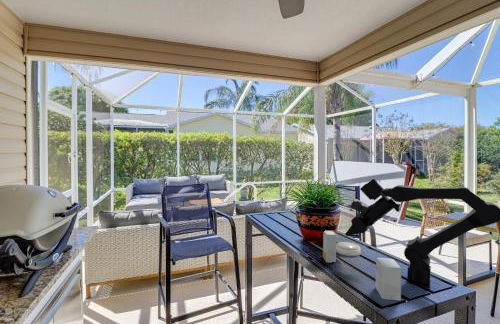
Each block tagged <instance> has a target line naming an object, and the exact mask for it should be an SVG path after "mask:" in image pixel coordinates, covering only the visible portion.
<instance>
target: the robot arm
mask: <svg viewBox="0 0 500 324" xmlns="http://www.w3.org/2000/svg"><path fill="white" fill-rule="evenodd" d="M359 190H360V191H361V192H362V193H363V194H364V195H365V196H366V197H367V198H368V199H369V200H370V201H371V200H372V201H375V202H374V203H371V204H370V205H368V204H366V203H365V202H363V201H362V200H360V199H357V198H355V199H353V201H352V202H351V204H350V206H349V207H350V208H351V209H354V210H356V211H358V212H359V215H356V216H354V217H353V218H352V219H351V221H350V222H351V226H350V227H349V228H348V230H347V231H346V232H345V236H346V237H349V236H354V235H359V234H364V233H366V232H367V231H369V228H370V227H372V226H373V225H375V224H376V222H378V221H379V220H381V219H383V217H384V216H386V215H387V214H389V213H390V212H391V211H392V210H395V211H396V212H397V213H398V212H401V203H402V202H403V203H405V202H410V201H415V200H461V201H463V202H464V203H466V204H467V205H468V206H469V208H471V210H470V211H469V212H468V213H467V214H466V215H465V216H463V217H462V218H461V219H458V220H457V221H455V222H453V223H452V224H450V225H447V226H446V227H444V228H442V229H440V230H438V231H437V232H435V233H434V234H433V233H432V234H431V235H430V236H428V237H425V238H420V236H418V235H417V236H416V237H414V238H413V239H412V240H408V242H407V244H406V246H405V249H404V252H403V255H404V257H405V259H406V260H407V261H409V265H408V266H407V273H406V275H407V277H406V279H407V280H408V281H407V283H409V284H413V285H415V286H420V287H424V288H428V289H430V288H431V283H432V281H431V268H432V266H431V257H430V256H429V255H430V254H431V253H432V252H433V251H434V250H435V249H437V248H439V247H441V246H444V244H445V245H446V244H447V243H448V242H450V241H453V240H454V239H456V238H458V237H461V236H462V235H464V234H466V233H468V232H470V231H472V230H473V229H478V228H482V227H487V226H489V225H493V224H496V223H498V222H500V207H499V206H498V205H497V204H495V203H493V202H491V201H485V200H484V199H483V198H481V197H480V196H478V195H476V194H475V193H474V192H472V191H471V190H470V188H468V187H466V186H459V187H416V186H415V187H414V186H409V185H403V184H398V185H396V186H394V187H391V188H389V187H387V188H384V187H382V185H381V184H380V183H379V182H378V181H377V180H376V178H372V179H371V180H369V181H368V182H367V183H365V184H363V186H361V187H360V188H359ZM379 197H380V198H379ZM378 198H379V199H378Z"/></svg>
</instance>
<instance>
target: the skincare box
mask: <svg viewBox="0 0 500 324" xmlns="http://www.w3.org/2000/svg"><path fill="white" fill-rule="evenodd" d="M322 240H323V243H322V245H323V246H322V258H323V259H324V261H325V262H326V263H332V262H337V252H336V244H337V234H336V232H334V230H325V231H324V232H323V238H322Z"/></svg>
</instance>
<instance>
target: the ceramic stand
mask: <svg viewBox="0 0 500 324" xmlns="http://www.w3.org/2000/svg"><path fill="white" fill-rule="evenodd" d="M336 254H339V255H341V256H345V257H346V256H347V257H359V256H360V255H361V246H360V245H358V244H356V243H353V242H350V241H349V242H347V241H340V242H336Z"/></svg>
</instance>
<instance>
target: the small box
mask: <svg viewBox="0 0 500 324" xmlns="http://www.w3.org/2000/svg"><path fill="white" fill-rule="evenodd" d="M374 286H375V289H376V290H377V292H378V294H379V296H380V297H381V299H382V300H388V301H391V300H392V301H398V302H399V301H401V300H402V267H401V266H400V265H399V264H398V263H397V262H396V260H395V259H394V258H387V257H376V258H375V285H374Z"/></svg>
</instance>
